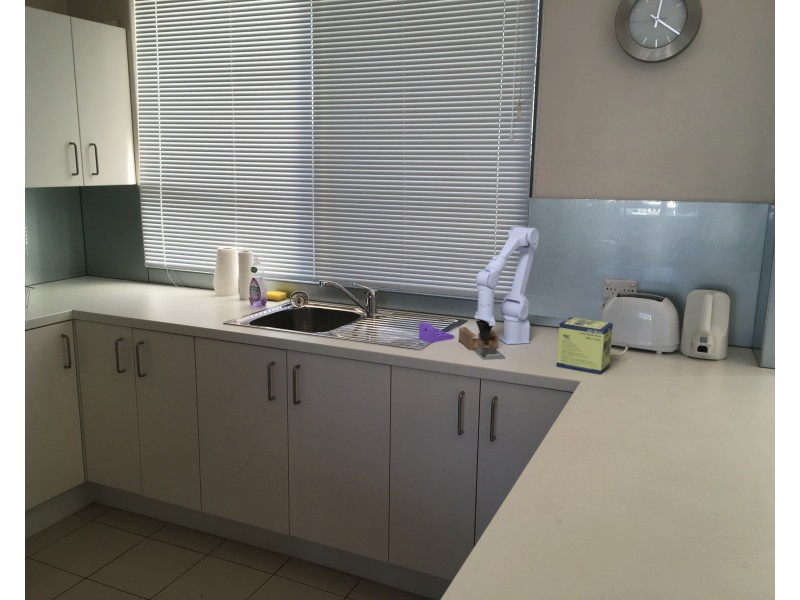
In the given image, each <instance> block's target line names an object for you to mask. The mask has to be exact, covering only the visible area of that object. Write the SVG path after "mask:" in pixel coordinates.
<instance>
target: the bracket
mask: <svg viewBox="0 0 800 600" xmlns="http://www.w3.org/2000/svg"><path fill="white" fill-rule="evenodd" d="M418 325H419V326H418V327H419V328H418V340H421V341H424V342H426V341H427V342H426V343H428V342H429V344H432V343H438V342H442V341H448V340H454V339H455V335H454V334H452V333H449V332H446V331H442V330H440V329H436V328H435V326H434V325H433V324H431V323H428V322H425V321H421V322H418ZM431 342H432V343H431Z"/></svg>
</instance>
